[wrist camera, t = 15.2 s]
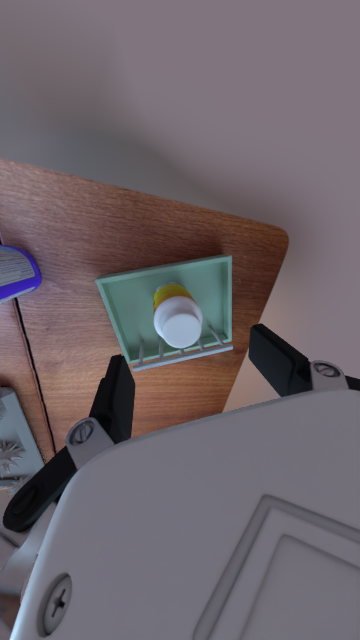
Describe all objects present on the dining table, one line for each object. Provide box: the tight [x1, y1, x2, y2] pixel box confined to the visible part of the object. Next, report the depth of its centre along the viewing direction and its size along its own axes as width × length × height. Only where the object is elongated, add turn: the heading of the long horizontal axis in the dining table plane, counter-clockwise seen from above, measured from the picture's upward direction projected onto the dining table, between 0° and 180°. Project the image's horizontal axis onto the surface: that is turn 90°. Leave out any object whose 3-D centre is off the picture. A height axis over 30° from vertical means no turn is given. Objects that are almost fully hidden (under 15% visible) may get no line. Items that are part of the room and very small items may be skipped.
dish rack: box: [95, 254, 233, 372], centre depth 23 cm, size 14×18×7 cm
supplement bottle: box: [153, 282, 203, 348], centre depth 20 cm, size 6×6×10 cm
